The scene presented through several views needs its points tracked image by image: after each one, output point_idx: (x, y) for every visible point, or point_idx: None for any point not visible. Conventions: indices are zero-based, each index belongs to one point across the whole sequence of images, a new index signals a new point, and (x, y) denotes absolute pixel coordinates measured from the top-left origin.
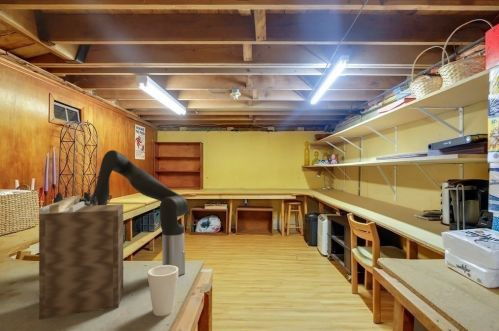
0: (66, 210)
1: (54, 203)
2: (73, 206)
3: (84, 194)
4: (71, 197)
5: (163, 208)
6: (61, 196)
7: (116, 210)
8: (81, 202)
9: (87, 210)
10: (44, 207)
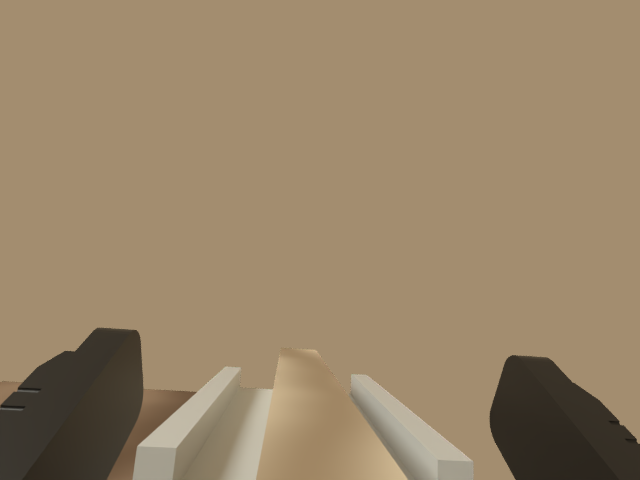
0: (257, 395)
1: (316, 355)
2: (225, 371)
3: (134, 365)
4: (365, 467)
5: None
6: (566, 454)
7: (11, 383)
8: (178, 418)
9: (150, 399)
10: (364, 381)
